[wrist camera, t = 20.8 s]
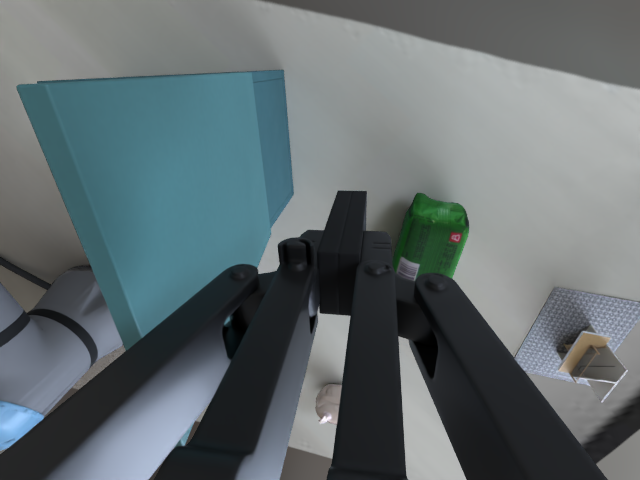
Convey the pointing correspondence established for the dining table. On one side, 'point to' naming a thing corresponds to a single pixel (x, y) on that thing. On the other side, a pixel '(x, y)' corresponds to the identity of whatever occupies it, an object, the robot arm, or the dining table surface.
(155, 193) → the lunchbox lid
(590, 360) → the architectural model
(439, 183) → the dining table surface
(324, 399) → the garlic bulb
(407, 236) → the snack package
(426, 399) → the dining table surface
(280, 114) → the box
